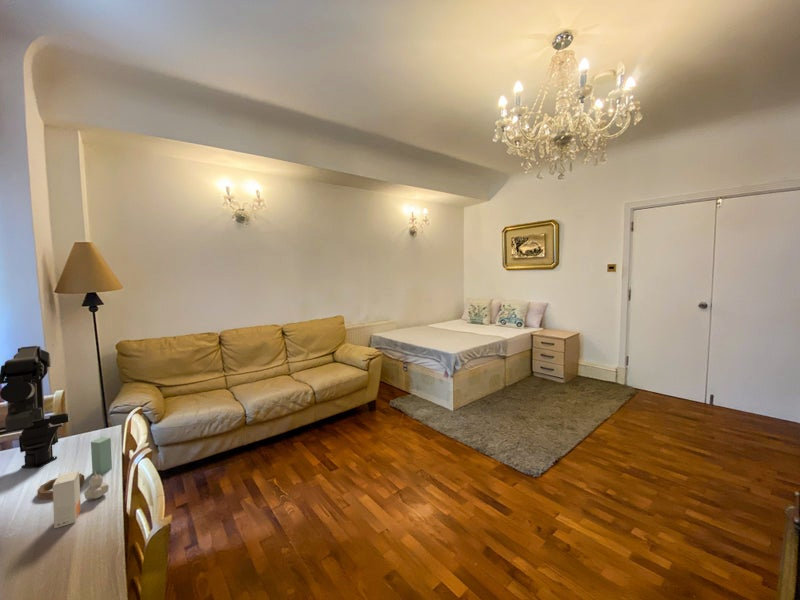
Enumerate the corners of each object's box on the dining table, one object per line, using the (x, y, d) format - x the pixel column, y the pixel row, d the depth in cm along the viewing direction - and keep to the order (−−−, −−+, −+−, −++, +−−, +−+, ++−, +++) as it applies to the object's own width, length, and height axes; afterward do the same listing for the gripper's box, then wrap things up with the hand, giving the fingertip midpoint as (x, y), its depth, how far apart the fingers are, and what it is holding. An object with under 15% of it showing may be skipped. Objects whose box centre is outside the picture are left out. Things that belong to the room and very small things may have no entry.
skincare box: (76, 522, 89) (73, 480, 89) (54, 529, 87) (51, 485, 86) (81, 509, 94) (79, 469, 94) (60, 515, 92) (58, 474, 91)
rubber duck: (107, 489, 104) (106, 464, 103) (110, 498, 99) (109, 472, 99) (83, 497, 100) (82, 472, 99) (86, 507, 95) (84, 480, 95)
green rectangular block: (92, 473, 113) (90, 441, 112) (103, 467, 116) (102, 437, 116) (101, 474, 112) (99, 442, 111) (111, 468, 115) (110, 437, 115)
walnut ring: (61, 479, 109) (60, 474, 109) (92, 479, 109) (92, 473, 109) (28, 499, 99) (28, 493, 99) (62, 498, 99) (62, 492, 99)
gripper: (-39, 411, 83) (-39, 475, 81) (66, 394, 96) (68, 448, 94) (-27, 410, 91) (-27, 468, 89) (68, 394, 104) (70, 445, 102)
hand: (23, 457), depth 93 cm, fingers open, 9 cm apart
